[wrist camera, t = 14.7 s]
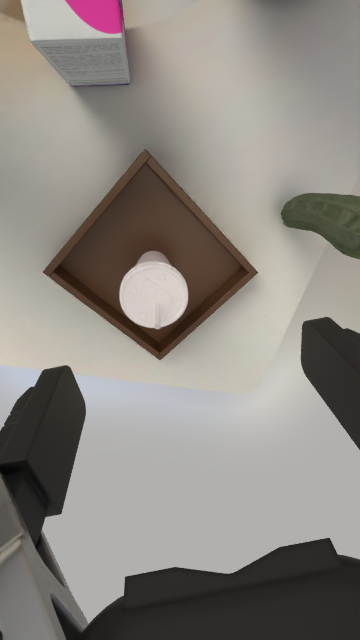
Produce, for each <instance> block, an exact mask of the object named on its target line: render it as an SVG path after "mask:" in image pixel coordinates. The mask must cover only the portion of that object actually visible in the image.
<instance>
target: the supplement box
mask: <svg viewBox="0 0 360 640" xmlns="http://www.w3.org/2000/svg"><path fill="white" fill-rule="evenodd" d="M21 4H22V8H23V13H24V17H25V22H26V27H27V31H28V36H29V40H30V42H31V43H32V44H33V45H34V46H35V47H36V49H37V50H38V51H39V52H40V53H41V54H42V55H43V56H44V57H45V58H46V59H47V61H48V62H49V63H50V64H51V65H52V66H53V67H54V68H55V69H56V71H57V72H58V73H59V74H60V75H61V76H62V77H63V78H64V79H65V80H66V82H67V83H68V84H69V85H70V86H101V85H129V84H130V74H129V65H128V54H127V45H126V36H125V26H124V18H123V9H122V0H21Z"/></svg>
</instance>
